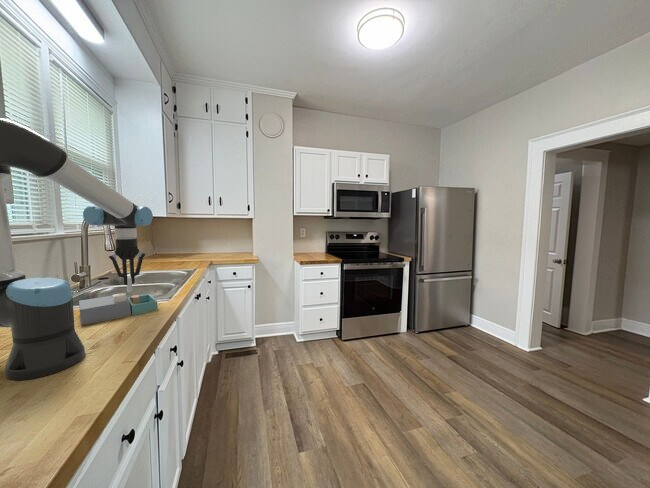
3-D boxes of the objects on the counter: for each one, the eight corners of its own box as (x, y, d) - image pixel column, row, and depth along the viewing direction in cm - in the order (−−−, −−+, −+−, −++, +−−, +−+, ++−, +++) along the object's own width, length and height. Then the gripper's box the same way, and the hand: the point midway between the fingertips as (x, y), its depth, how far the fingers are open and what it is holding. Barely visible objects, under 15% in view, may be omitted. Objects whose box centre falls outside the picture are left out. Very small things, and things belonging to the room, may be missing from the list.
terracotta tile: (132, 298, 116) (139, 296, 118) (131, 296, 119) (138, 294, 120) (133, 306, 116) (140, 305, 118) (131, 304, 119) (138, 303, 121)
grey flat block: (81, 325, 98) (80, 309, 98) (80, 314, 108) (78, 300, 108) (130, 315, 109) (129, 301, 108) (125, 306, 119) (124, 293, 118)
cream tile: (113, 302, 106) (113, 296, 105) (112, 300, 109) (112, 294, 108) (126, 300, 108) (125, 294, 108) (124, 298, 111) (124, 292, 111)
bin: (132, 315, 109) (131, 305, 109) (126, 306, 119) (126, 297, 119) (157, 309, 115) (157, 301, 115) (150, 302, 125) (149, 293, 125)
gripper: (142, 236, 121) (145, 287, 124) (105, 238, 112) (109, 292, 115) (146, 238, 116) (149, 290, 118) (107, 239, 107) (111, 296, 109)
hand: (129, 291), depth 116 cm, fingers closed
